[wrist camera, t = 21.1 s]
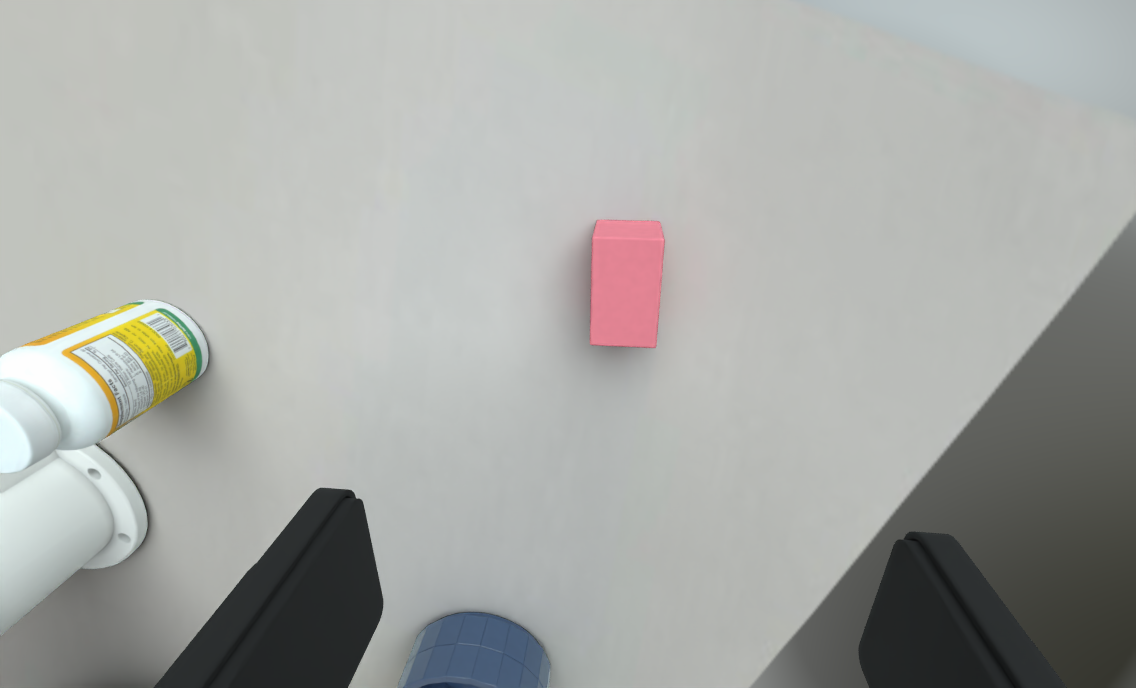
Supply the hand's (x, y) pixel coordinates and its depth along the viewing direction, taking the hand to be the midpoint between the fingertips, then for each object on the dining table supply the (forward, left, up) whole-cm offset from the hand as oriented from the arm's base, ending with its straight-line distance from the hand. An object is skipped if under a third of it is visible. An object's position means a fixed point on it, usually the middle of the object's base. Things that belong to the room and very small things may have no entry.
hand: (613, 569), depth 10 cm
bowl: (+30, -9, -18) cm, 36 cm away
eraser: (0, 0, -18) cm, 18 cm away
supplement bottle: (+5, -26, -18) cm, 32 cm away
